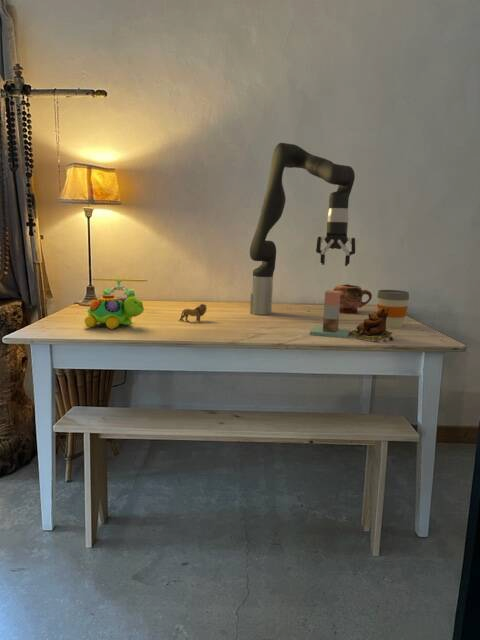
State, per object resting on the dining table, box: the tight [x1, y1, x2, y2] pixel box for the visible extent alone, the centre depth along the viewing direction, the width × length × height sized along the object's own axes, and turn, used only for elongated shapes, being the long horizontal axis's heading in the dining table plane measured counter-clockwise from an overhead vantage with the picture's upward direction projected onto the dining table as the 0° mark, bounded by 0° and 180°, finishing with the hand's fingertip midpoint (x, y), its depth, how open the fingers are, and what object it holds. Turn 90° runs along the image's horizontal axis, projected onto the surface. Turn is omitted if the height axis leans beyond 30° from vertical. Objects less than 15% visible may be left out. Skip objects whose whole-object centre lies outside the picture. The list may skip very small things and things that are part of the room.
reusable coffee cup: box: [376, 289, 410, 329], centre depth 201 cm, size 13×12×15 cm
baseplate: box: [309, 325, 351, 339], centre depth 186 cm, size 14×12×1 cm
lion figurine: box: [178, 303, 208, 323], centre depth 201 cm, size 12×4×7 cm, turn 111°
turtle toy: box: [84, 294, 145, 330], centre depth 190 cm, size 17×23×12 cm
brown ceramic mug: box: [333, 283, 373, 315], centre depth 230 cm, size 20×12×14 cm, turn 95°
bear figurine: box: [349, 307, 395, 343], centre depth 180 cm, size 14×15×12 cm
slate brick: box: [323, 304, 340, 319], centre depth 185 cm, size 5×7×5 cm
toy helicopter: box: [91, 278, 148, 300], centre depth 224 cm, size 25×9×15 cm, turn 93°
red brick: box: [323, 289, 340, 306], centre depth 184 cm, size 5×7×5 cm
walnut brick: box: [322, 316, 340, 332], centre depth 185 cm, size 5×7×5 cm
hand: (334, 265), depth 181 cm, fingers open, 8 cm apart
